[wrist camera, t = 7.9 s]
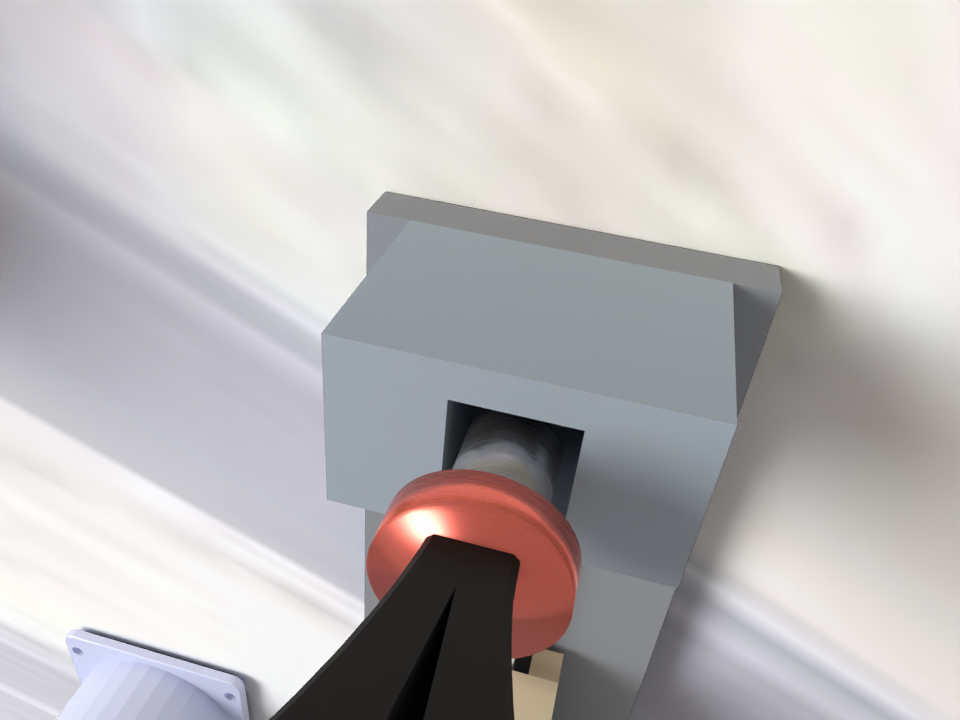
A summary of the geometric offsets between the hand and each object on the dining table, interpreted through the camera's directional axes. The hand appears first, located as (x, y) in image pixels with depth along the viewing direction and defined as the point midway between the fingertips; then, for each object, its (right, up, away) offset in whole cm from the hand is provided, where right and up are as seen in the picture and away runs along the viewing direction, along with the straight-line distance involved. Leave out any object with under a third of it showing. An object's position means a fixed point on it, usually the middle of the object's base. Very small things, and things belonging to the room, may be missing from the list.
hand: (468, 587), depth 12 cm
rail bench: (+1, -3, +13) cm, 13 cm away
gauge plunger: (+1, +2, +3) cm, 4 cm away
